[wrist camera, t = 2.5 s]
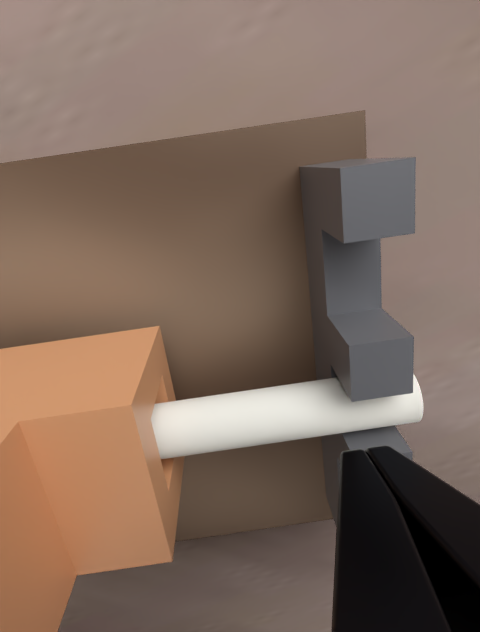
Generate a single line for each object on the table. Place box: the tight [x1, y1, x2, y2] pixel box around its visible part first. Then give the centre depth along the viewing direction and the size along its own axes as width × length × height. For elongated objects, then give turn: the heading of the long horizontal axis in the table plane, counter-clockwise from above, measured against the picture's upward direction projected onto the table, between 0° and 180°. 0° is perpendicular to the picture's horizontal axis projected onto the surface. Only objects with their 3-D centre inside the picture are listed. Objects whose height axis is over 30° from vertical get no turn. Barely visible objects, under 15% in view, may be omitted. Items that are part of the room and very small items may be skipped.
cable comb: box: [299, 157, 416, 527], centre depth 10 cm, size 10×1×4 cm, turn 8°
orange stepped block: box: [0, 326, 185, 632], centre depth 8 cm, size 4×5×7 cm
